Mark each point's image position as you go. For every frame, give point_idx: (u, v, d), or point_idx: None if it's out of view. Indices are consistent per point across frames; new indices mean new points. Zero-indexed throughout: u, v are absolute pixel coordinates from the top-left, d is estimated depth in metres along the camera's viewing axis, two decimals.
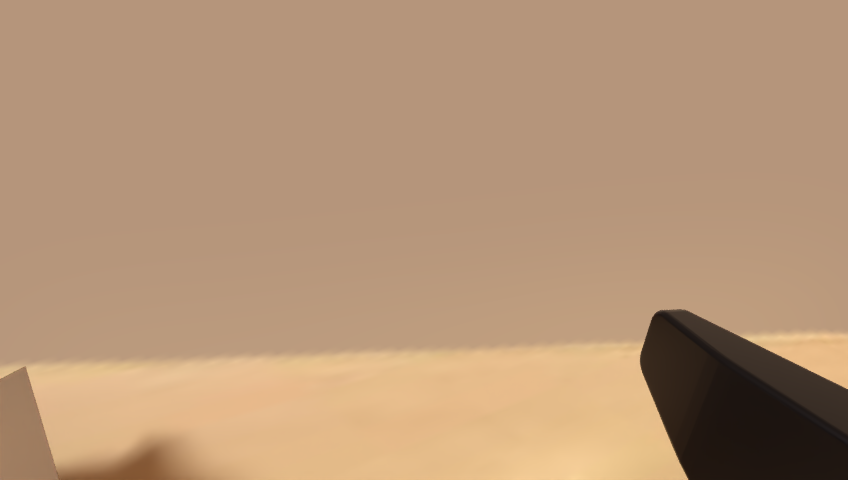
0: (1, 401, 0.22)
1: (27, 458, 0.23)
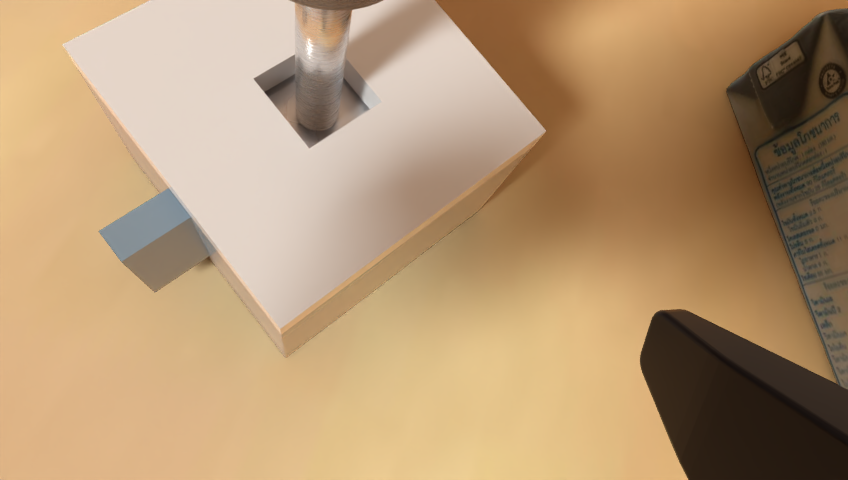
0: None
1: None
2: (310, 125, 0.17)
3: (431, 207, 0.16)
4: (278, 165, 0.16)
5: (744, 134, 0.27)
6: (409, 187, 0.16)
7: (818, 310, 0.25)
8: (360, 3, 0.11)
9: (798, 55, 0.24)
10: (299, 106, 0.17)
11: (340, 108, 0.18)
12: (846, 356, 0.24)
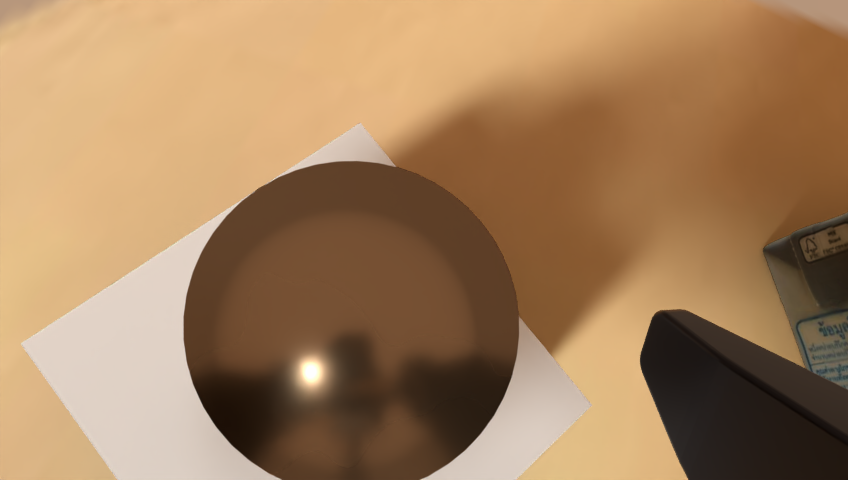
0: None
1: None
2: None
3: None
4: None
5: (784, 302, 0.25)
6: None
7: None
8: None
9: None
10: None
11: None
12: None
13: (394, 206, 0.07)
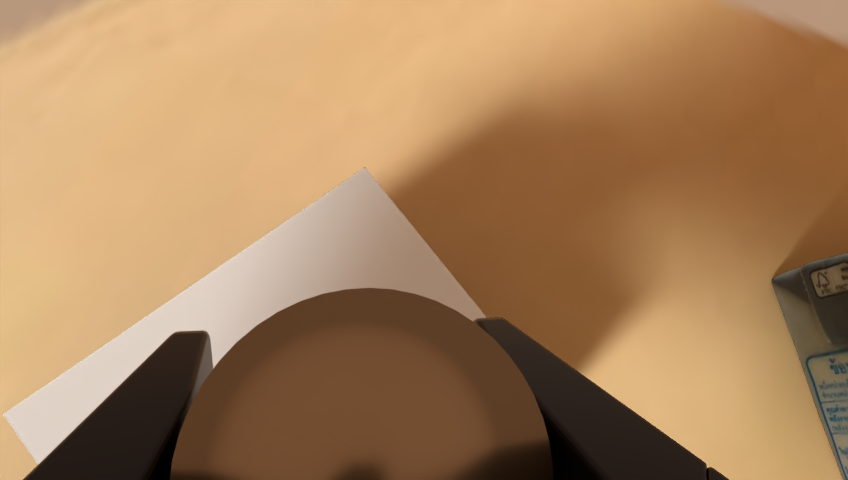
0: None
1: None
2: None
3: None
4: None
5: (793, 336, 0.24)
6: None
7: None
8: None
9: None
10: None
11: None
12: None
13: (411, 341, 0.06)
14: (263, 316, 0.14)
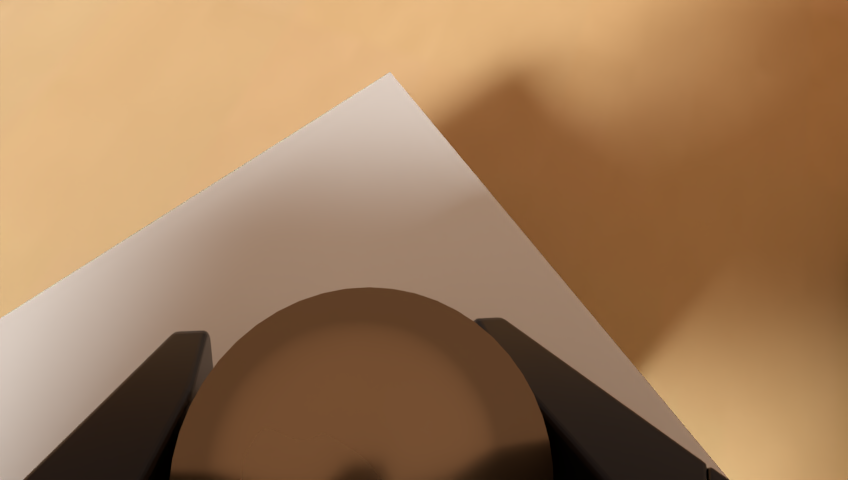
0: None
1: None
2: None
3: None
4: None
5: None
6: None
7: None
8: None
9: None
10: None
11: None
12: None
13: (411, 340, 0.06)
14: (248, 271, 0.10)
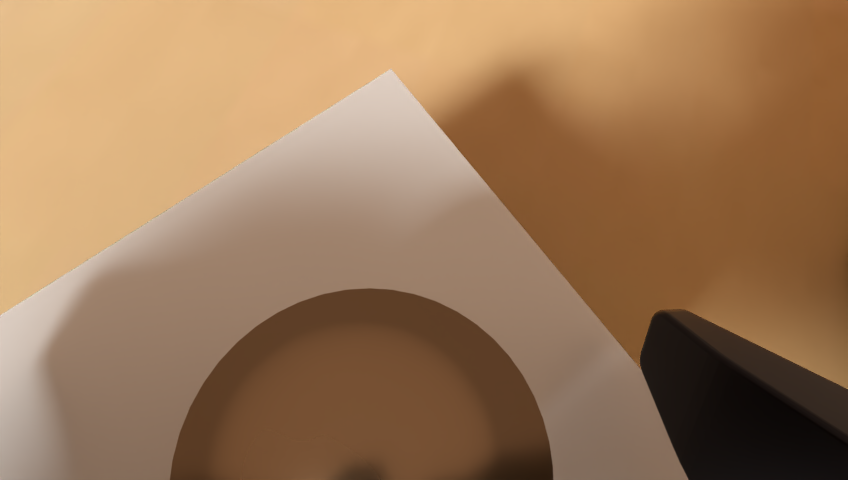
0: None
1: None
2: None
3: None
4: None
5: None
6: None
7: None
8: None
9: None
10: None
11: None
12: None
13: (411, 341, 0.06)
14: (248, 270, 0.10)
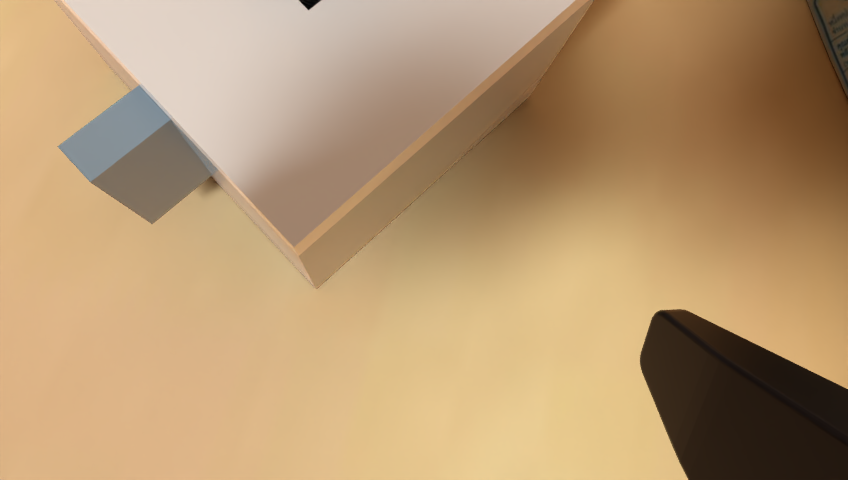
0: None
1: None
2: None
3: (476, 74, 0.12)
4: (270, 36, 0.12)
5: None
6: (445, 50, 0.12)
7: None
8: None
9: None
10: None
11: None
12: None
13: None
14: None
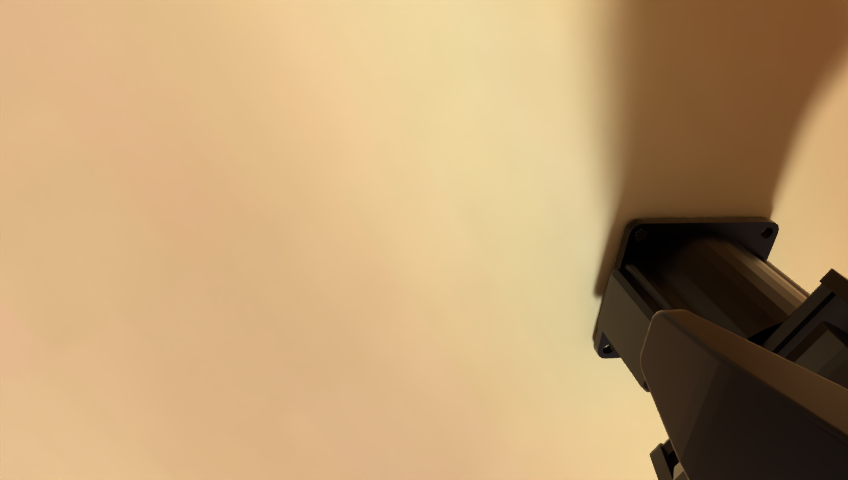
0: None
1: None
2: None
3: None
4: None
5: None
6: None
7: None
8: None
9: None
10: None
11: None
12: None
13: None
14: None
